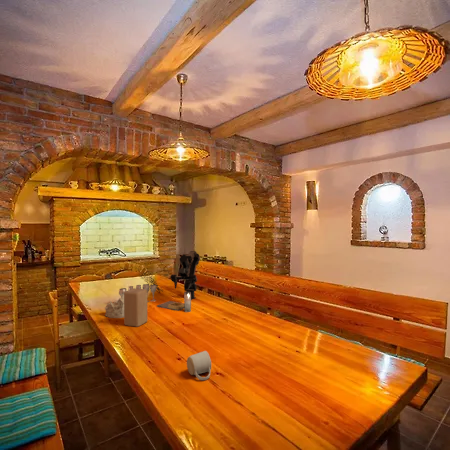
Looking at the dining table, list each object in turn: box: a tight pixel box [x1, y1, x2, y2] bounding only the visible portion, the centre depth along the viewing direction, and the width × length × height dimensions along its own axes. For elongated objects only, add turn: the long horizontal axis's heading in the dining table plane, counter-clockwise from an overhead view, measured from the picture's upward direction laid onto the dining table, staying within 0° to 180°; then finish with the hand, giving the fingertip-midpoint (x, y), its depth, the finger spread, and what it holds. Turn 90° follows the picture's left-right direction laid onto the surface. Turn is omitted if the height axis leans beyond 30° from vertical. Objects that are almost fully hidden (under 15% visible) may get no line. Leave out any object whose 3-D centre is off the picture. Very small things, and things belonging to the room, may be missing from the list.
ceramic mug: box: [186, 350, 212, 381], centre depth 115 cm, size 11×8×8 cm
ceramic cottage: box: [104, 294, 124, 319], centre depth 191 cm, size 16×16×15 cm
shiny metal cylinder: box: [183, 291, 192, 313], centre depth 197 cm, size 4×4×13 cm
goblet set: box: [118, 283, 157, 303], centre depth 218 cm, size 28×6×13 cm, turn 123°
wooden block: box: [123, 287, 148, 328], centre depth 173 cm, size 10×10×20 cm
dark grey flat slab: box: [156, 300, 184, 312], centre depth 209 cm, size 14×20×3 cm
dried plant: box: [124, 257, 164, 294], centre depth 248 cm, size 30×31×45 cm
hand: (181, 288), depth 204 cm, fingers open, 9 cm apart
